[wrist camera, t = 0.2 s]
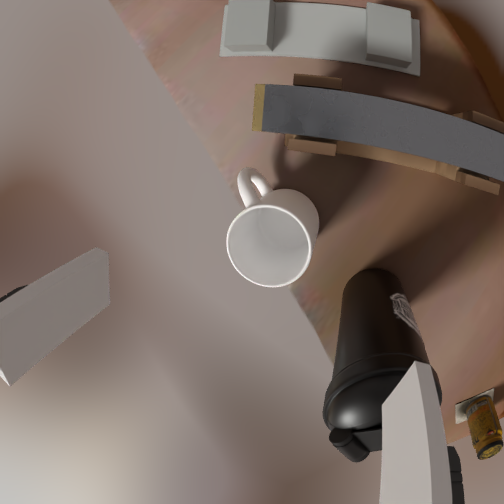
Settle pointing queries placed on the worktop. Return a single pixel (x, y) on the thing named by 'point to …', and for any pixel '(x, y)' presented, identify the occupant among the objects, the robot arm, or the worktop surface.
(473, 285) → the worktop surface
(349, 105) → the rail
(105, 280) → the robot arm
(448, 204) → the worktop surface
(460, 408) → the condiment
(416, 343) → the water bottle
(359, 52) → the rest
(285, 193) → the mug
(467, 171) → the rack
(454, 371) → the worktop surface
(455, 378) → the worktop surface
